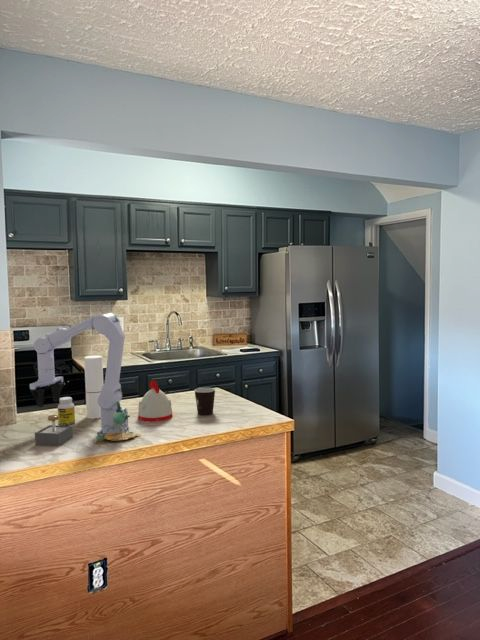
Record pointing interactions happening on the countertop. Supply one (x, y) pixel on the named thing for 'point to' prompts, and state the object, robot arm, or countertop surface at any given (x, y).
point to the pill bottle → (66, 412)
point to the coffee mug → (205, 400)
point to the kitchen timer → (154, 405)
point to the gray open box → (53, 436)
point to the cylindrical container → (93, 384)
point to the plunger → (53, 425)
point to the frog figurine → (119, 419)
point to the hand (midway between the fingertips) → (48, 404)
